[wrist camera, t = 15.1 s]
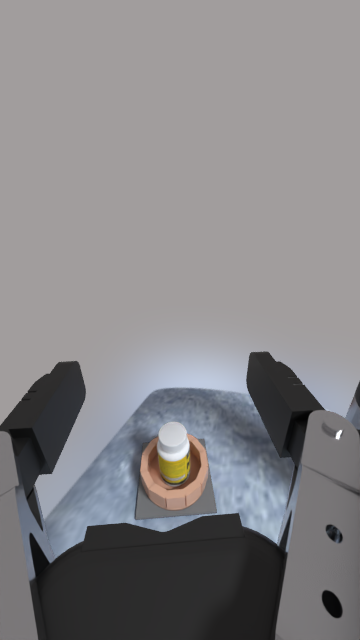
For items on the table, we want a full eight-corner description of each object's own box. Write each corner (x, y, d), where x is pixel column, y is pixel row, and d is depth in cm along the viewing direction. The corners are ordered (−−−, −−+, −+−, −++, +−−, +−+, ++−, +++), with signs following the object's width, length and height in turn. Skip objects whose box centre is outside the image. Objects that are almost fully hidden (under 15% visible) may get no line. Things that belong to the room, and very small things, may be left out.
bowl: (201, 441, 40) (202, 429, 38) (212, 507, 30) (213, 495, 29) (145, 445, 39) (143, 433, 38) (139, 513, 30) (137, 501, 29)
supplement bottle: (193, 484, 33) (192, 445, 29) (161, 491, 32) (157, 452, 28) (186, 453, 37) (185, 416, 33) (158, 459, 36) (154, 422, 33)
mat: (204, 439, 40) (204, 438, 40) (216, 512, 30) (216, 511, 30) (143, 444, 40) (142, 442, 40) (135, 519, 30) (135, 518, 30)
